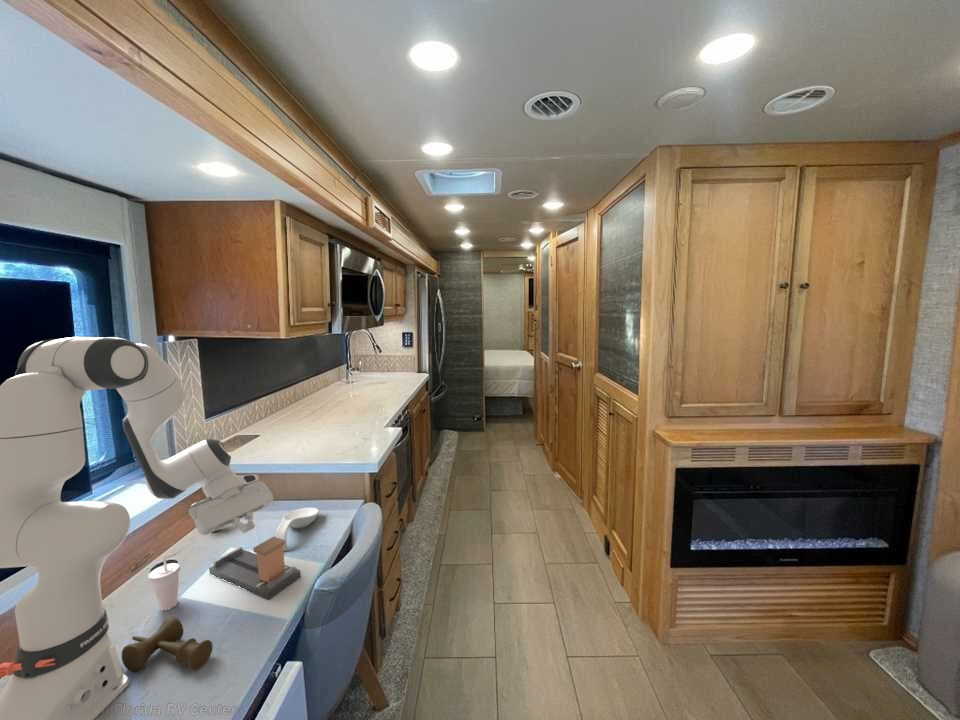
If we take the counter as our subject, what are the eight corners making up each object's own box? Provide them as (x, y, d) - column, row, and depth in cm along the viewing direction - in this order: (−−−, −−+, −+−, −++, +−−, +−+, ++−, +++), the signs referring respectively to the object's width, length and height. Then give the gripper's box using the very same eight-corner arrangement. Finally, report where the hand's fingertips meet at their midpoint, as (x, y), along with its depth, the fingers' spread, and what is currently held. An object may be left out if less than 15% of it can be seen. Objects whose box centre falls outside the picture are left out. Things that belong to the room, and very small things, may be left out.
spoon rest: (291, 516, 147) (290, 498, 146) (324, 514, 147) (322, 496, 147) (261, 554, 123) (259, 532, 122) (299, 551, 124) (297, 530, 123)
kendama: (182, 689, 78) (108, 668, 83) (224, 650, 88) (155, 633, 92) (180, 661, 78) (106, 641, 83) (223, 625, 87) (154, 609, 92)
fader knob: (256, 579, 107) (253, 547, 106) (276, 567, 112) (273, 536, 111) (268, 584, 105) (264, 552, 104) (287, 571, 110) (284, 540, 109)
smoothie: (166, 616, 98) (159, 563, 96) (145, 613, 99) (138, 560, 97) (190, 598, 104) (184, 548, 102) (170, 595, 105) (164, 546, 104)
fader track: (209, 574, 114) (208, 563, 113) (243, 555, 122) (242, 544, 122) (268, 600, 102) (266, 587, 102) (300, 577, 111) (299, 565, 110)
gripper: (189, 500, 104) (214, 543, 100) (261, 472, 122) (285, 508, 118) (181, 513, 106) (206, 555, 103) (254, 484, 124) (277, 519, 121)
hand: (249, 529), depth 111 cm, fingers closed
